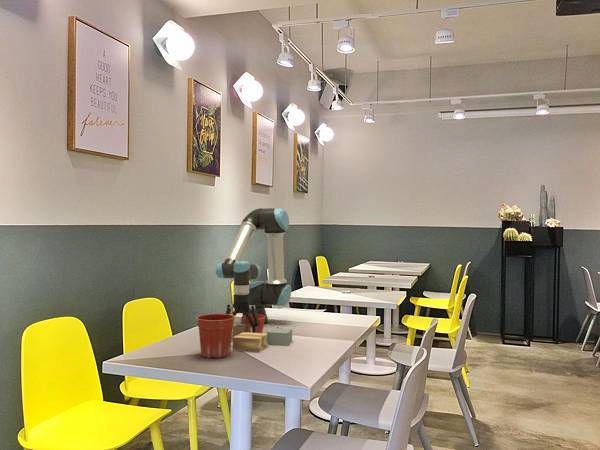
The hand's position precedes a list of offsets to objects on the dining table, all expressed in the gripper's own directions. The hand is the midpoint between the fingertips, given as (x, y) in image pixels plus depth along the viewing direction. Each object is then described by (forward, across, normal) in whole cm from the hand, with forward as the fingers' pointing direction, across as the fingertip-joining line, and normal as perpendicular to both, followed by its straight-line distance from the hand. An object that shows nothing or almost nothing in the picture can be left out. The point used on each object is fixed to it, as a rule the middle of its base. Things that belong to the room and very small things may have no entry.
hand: (240, 340), depth 241 cm
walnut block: (0, 0, 0) cm, 0 cm away
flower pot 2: (0, +2, +12) cm, 12 cm away
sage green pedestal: (0, +19, +1) cm, 19 cm away
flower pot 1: (+1, 0, -28) cm, 28 cm away
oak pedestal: (+1, +10, -13) cm, 16 cm away
